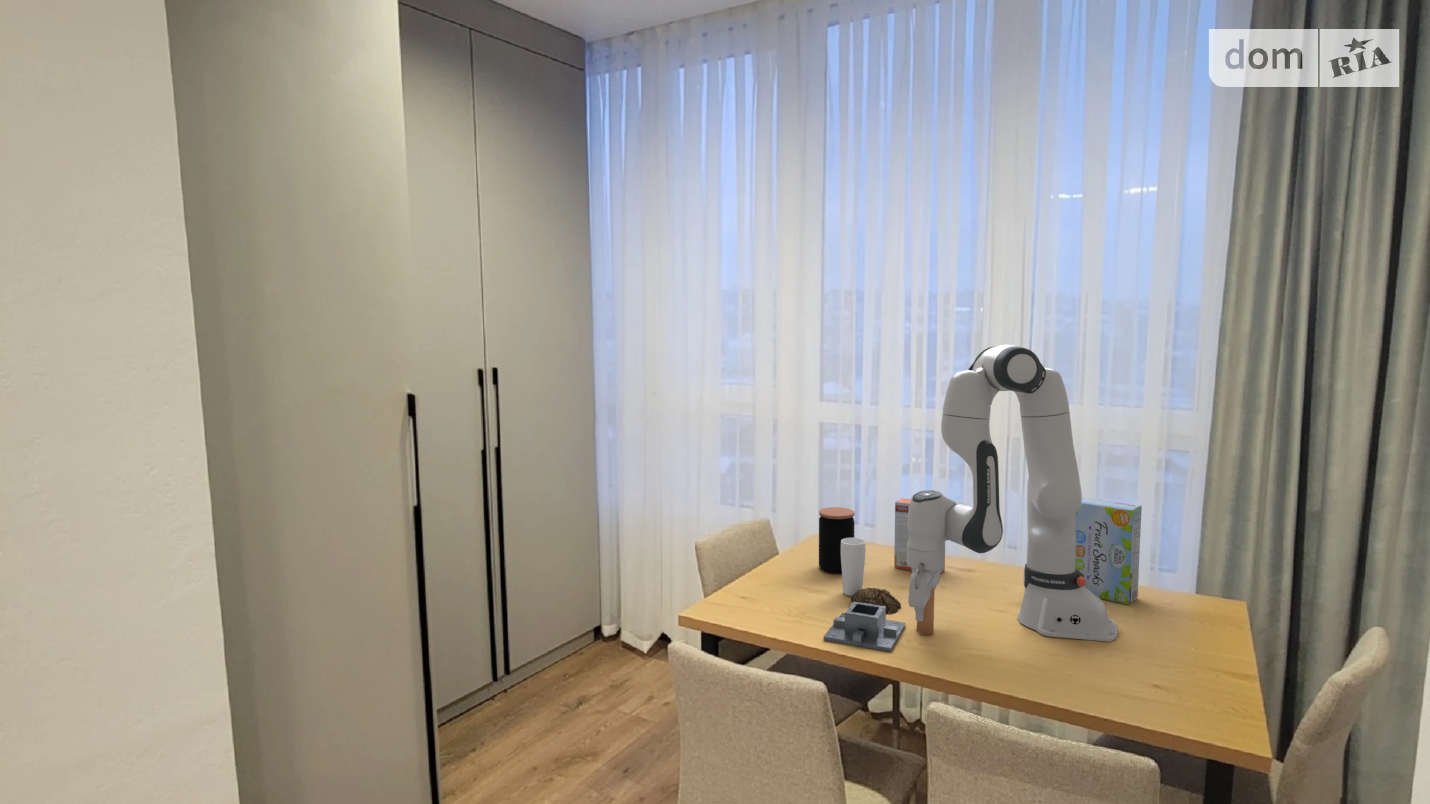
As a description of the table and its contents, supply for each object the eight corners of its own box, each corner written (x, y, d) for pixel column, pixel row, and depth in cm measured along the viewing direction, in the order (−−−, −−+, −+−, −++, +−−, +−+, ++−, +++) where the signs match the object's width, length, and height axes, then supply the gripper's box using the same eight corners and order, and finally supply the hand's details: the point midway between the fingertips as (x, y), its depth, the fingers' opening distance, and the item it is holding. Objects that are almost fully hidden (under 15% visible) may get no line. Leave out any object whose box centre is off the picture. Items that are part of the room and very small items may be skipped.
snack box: (1139, 597, 209) (1144, 504, 206) (1129, 606, 202) (1134, 511, 199) (1056, 579, 223) (1060, 492, 221) (1045, 587, 217) (1048, 498, 214)
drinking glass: (866, 597, 210) (867, 544, 209) (842, 598, 211) (842, 544, 209) (862, 589, 217) (863, 537, 215) (838, 589, 217) (839, 537, 216)
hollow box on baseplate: (905, 626, 191) (905, 603, 190) (890, 652, 177) (891, 627, 176) (842, 616, 198) (842, 593, 197) (823, 640, 183) (823, 616, 183)
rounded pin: (934, 629, 189) (935, 586, 188) (931, 636, 185) (932, 591, 184) (918, 627, 191) (919, 584, 189) (915, 633, 187) (915, 589, 186)
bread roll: (845, 600, 210) (845, 582, 209) (887, 595, 213) (887, 578, 212) (866, 617, 198) (866, 599, 197) (909, 612, 201) (910, 594, 200)
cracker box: (945, 570, 232) (947, 502, 230) (938, 576, 227) (940, 507, 225) (900, 562, 240) (901, 497, 238) (893, 568, 235) (894, 501, 233)
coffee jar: (859, 567, 236) (860, 509, 234) (845, 577, 227) (846, 517, 225) (827, 561, 242) (827, 505, 240) (812, 571, 233) (813, 513, 231)
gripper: (930, 573, 176) (928, 631, 177) (946, 548, 194) (944, 601, 195) (902, 569, 178) (901, 626, 180) (920, 545, 197) (919, 597, 198)
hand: (923, 613), depth 188 cm, fingers open, 8 cm apart
